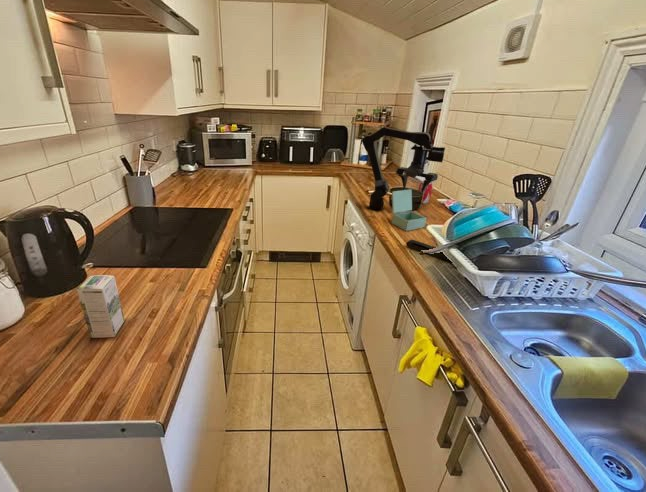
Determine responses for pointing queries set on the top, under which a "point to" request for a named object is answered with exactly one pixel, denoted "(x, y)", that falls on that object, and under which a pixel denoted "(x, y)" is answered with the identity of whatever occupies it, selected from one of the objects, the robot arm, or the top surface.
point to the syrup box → (101, 306)
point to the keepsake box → (408, 220)
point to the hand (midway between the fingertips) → (412, 190)
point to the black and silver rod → (425, 248)
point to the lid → (402, 200)
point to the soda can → (426, 192)
